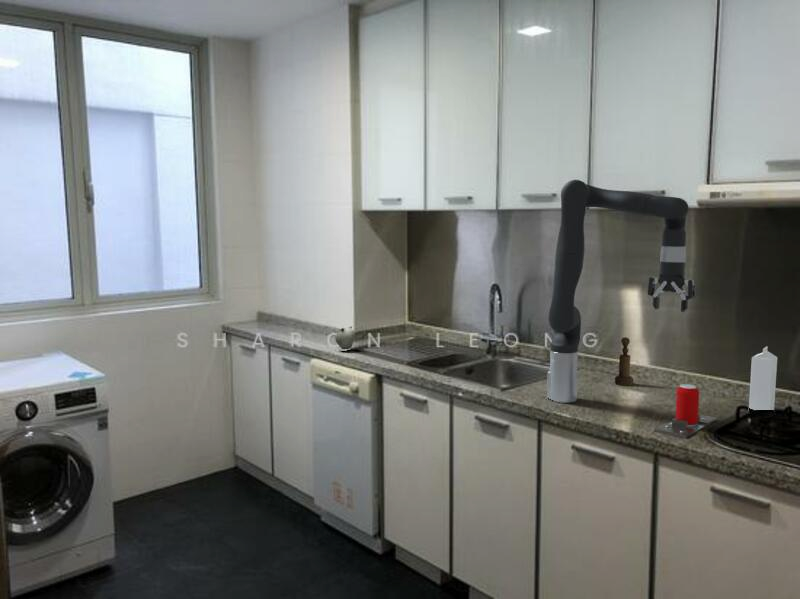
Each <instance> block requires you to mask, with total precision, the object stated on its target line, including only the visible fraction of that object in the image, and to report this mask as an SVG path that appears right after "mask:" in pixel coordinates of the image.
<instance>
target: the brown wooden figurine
mask: <svg viewBox="0 0 800 599" xmlns="http://www.w3.org/2000/svg"><path fill="white" fill-rule="evenodd" d="M620 342H621V345H622V346H623V348H621V350H622V354H619V362H618V363H619V366H618V367H619V368H618V375H616V376H615V377H614V384H615V383H616V384H615V385H618V386H626V387H628V386H634V377H632V376H631V355H629V354H628V353H629V349H628V346H629V344H630V338H629V337H625V336H624V337H622V338H621V340H620Z"/></svg>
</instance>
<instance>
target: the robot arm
mask: <svg viewBox="0 0 800 599" xmlns="http://www.w3.org/2000/svg"><path fill="white" fill-rule="evenodd" d="M560 205H561V207H560V208H561V213H560V218H561V219H560V227H559V230H558V231H559V232H558V237H557V243H556V250H555V256H554V257H555V258H554V259H555V260H554V272H553V275H554V276H553V289H552V290H553V291H552V297H551V302H550V308H549V312H548V324H549V326H550V328H551V330H553V337H552V340H551V342H550V350H549V351H550V353H549V356H550V357H549V362H550V364H549V367H550V368H549V371H547V375H546V376H547V377H546V379H547V380H546V382H547V383H546V384H547V385H546V399H548V398H549V399H548V400H550V399H551V400H550V401H552V400H553V401H552V402H556V403H573V402H574V403H575V402H577V401H578V400H577V396H578V394H577V393H578V368H579V367H578V362H579V361H578V358H579V345H580V340H581V328H582V327H581V326H582V316H581V312H580V311H579V309H578V308H577V307H576V306H575V294H576V291H577V290H576V289H577V287H578V284H579V281H580V278H581V275H582V271H583V269H584V268H583V266H584V261H585V260H584V258H585V230H584V226H585V225H584V222H585V216H586V210H587V208H599V209H605V210H606V209H608V210H611V211H612V210H613V211H617V212H621V213H626V214H632V215H638V216H639V215H640V216H647V217H657V218H663V219H662V224H663V225H662V226H663V230H662V239H661V249H660V256H659V258H660V260H659V275H658V277H656V276H652V277H649V280H648V289H647V295H648V296H652V298H653V299H652V301H653V302H652V307H653V308H654V310H658V309H660V301H661V300H660V299H661V298H660V296H661V295H662V294H663V293H664V292H671V293H677V294H678V295H679V296H680V298H681V302H680V312H681V313H684V312H686V311H687V310H688V305H689V300H690V299H694V298H695V296H696V294H695V292H696V291H695V290H696V288H695V287H696V281H695V279H686V278H685V275H686V271H685V270H686V261H687V256H686V255H687V254H686V252H687V251H686V243H687V242H686V241H687V232H686V217H687V215H688V213H689V209H690V207H689V204H688V202H687V201H686V200H685V199H683V198H681V197H676V196H665V195H664V196H663V195H655V194H650V193H645V192H644V193H643V192H639V191H629V190H627V191H626V190H614V189H605V188H601V187H600V188H599V187H597V186H594V185H590V184H587V183H585V182H584V181H582V180H580V179H572V180H569V181H567V182H565V184H564V185H563V187H562V188H561V191H560ZM657 284H659V287H657V289H656V285H657ZM684 285H686V287H687V291H686V290H685V287H684ZM655 290H656V291H655ZM686 292H687V293H686Z"/></svg>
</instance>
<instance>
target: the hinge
mask: <svg viewBox="0 0 800 599" xmlns="http://www.w3.org/2000/svg"><path fill="white" fill-rule="evenodd" d="M716 420H717V417H715V416H714V417H713V416H710V415H705V414H701V413H698V423H697V425H695V426H693V427H687V421H684V420H679V419H676V418H672V419H671V421H670V422H669V423H665V422H664V423H663V424H661V425H658V426H657V427H655V428H654V429H653V431H654V432H656V433H661V434H665V435H670V436H674V437H678V438H682V439H687V438H689V437H690V436H692V435H694V434H695V433H696V432H697V431H699V430H701V429H702V428H705V427H706V426H708V425H710V424H713V422H715V421H716Z"/></svg>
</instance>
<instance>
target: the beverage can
mask: <svg viewBox="0 0 800 599" xmlns="http://www.w3.org/2000/svg"><path fill="white" fill-rule="evenodd" d="M675 401H676V402H675V419H679V420H684V421H687V427H693V426H695V425H697V423H698V414H699V409H700V408H699V406H700V390H699V388H698V387H697V386H696V385H694V384H689V383H687V384H686V383H683V384H680V385H679V386H678V387H677V389H676V398H675Z"/></svg>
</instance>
